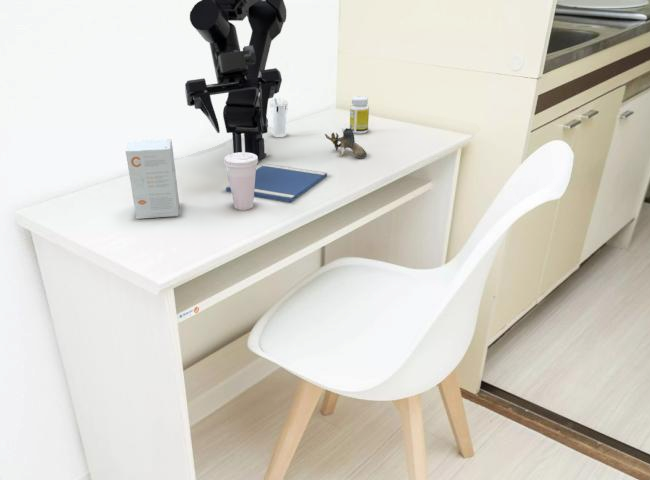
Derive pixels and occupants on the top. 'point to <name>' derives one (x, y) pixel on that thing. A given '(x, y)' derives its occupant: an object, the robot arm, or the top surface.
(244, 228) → the top surface
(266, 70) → the robot arm
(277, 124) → the milkshake
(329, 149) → the top surface
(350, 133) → the eagle figurine
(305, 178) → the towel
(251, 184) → the smoothie
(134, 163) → the small box
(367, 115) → the supplement bottle
